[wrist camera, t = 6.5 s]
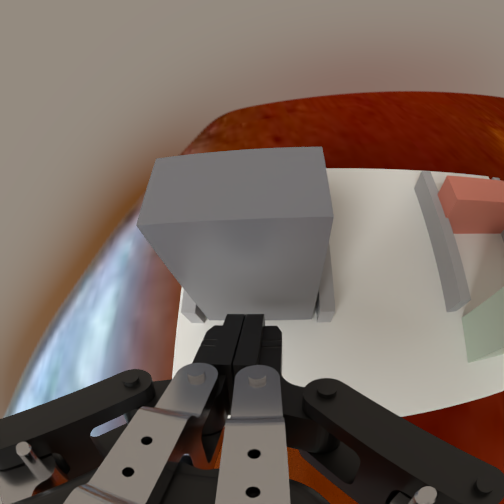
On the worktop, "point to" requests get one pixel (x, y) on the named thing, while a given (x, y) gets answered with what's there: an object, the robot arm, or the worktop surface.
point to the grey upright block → (242, 228)
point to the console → (394, 291)
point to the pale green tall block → (485, 329)
